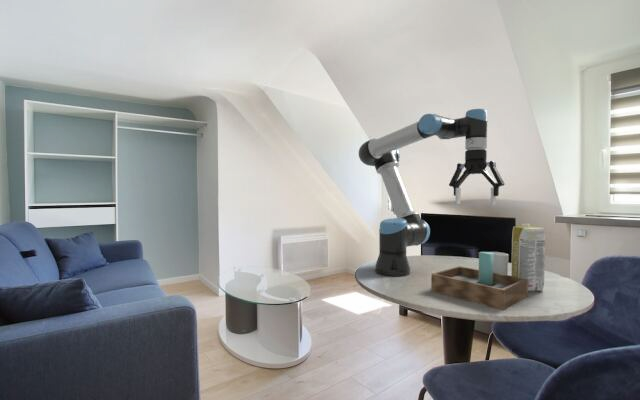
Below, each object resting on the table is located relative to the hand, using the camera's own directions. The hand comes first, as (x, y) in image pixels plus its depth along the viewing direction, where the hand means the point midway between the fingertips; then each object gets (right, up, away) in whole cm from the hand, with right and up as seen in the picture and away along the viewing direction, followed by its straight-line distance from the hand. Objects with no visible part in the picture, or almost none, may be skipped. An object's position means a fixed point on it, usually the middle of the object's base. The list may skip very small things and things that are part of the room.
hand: (474, 204), depth 123 cm
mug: (+8, -31, 0) cm, 32 cm away
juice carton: (+16, -31, -7) cm, 36 cm away
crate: (-5, -31, -13) cm, 34 cm away
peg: (-2, -31, -12) cm, 33 cm away
